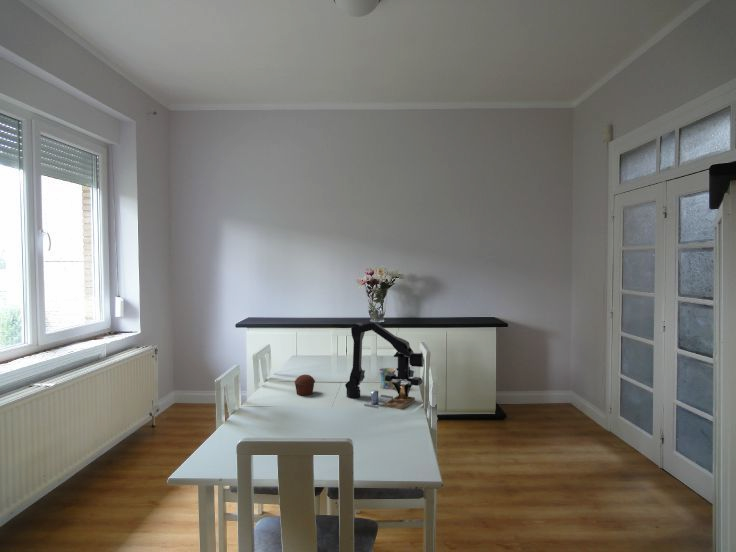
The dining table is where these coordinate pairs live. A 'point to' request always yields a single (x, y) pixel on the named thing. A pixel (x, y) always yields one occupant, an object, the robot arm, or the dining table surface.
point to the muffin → (304, 385)
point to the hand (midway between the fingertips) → (403, 396)
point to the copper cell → (402, 392)
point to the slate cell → (374, 397)
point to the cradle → (380, 401)
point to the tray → (399, 402)
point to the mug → (384, 383)
